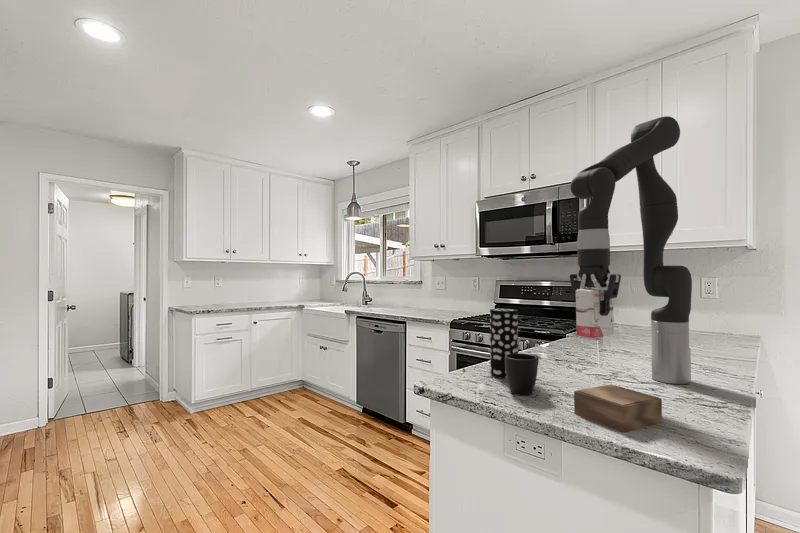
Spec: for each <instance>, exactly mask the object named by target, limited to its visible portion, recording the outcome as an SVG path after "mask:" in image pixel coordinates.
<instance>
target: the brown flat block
mask: <svg viewBox="0 0 800 533" xmlns="http://www.w3.org/2000/svg"><path fill="white" fill-rule="evenodd" d="M573 395H574V396H573V400H574V401H573V402H574V409H573V410H574V413H573V414H575V415H578V416H580V417H583V418H585V419H588V420H590V421H593V422H596V423H598V424H601V425H604V426H606V427H609V428H612V429H614V430H616V431H620V432H622V433H625V432H630V431H634V430H637V429H641V428H645V427H646V428H647V427H651V426H653V425H659V424H662V423H663V406H662V405H663V404H662V402H663V401H662V400H663V399H662V398H661V397H658V396H655V395H651V394H647V393H644V392H641V391H637V390H633V389H629V388H625V387H622V386H618V385H614V384H612V383H611V384H606V385H605V384H604V385H600V386H595V387H589V388H583V389H577V390H574V391H573Z"/></svg>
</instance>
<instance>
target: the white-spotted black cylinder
mask: <svg viewBox="0 0 800 533" xmlns="http://www.w3.org/2000/svg"><path fill="white" fill-rule="evenodd" d="M489 333H490V334H489V342H490V343H489V348H490V350H489V355H490V359H489V360H490V362H489V364H490V367H489V368H490V376H492V377H493V378H498V379H506V380H507V377H506V371H505V355H508V354H519V310H518V309H515V308H491V309H489Z"/></svg>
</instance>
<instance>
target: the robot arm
mask: <svg viewBox="0 0 800 533" xmlns="http://www.w3.org/2000/svg"><path fill="white" fill-rule="evenodd" d="M680 136H681V128H680V125H679V122H678V121H677V120H676V119H675V118H674V117H673V116H668V115H667V116H661V117H657V118H653V119H651V120H648V121H644V122H643V123H639V124H637V125H635V126H634V127H633V128H632V130H631V134H630V143H628V144H626V145H624V146H621V147H619V148H617V149H615V150H614V151H612V152H611V153H609V154H608V155H607V156H605V157H604V158H602V159H601V160H600V161H599V162H597V163H594V164H593V165H590V166H588V167H586V168H585V169H584V168H583V169H582V170H581V171H579V172H577V173H576V174H575V175H574V176H573V178H572V180H571V182H570V192H571V194H572V195H573V196H574V197H576V198H577V199H579V200H586V199H591V200H590V202H589V204H588V205H587V206H584V207H582V208H580V209H579V211H578V212H577V213H578V214H577V224H578V225H577V227H578V228H577V230H578V231H577V238H576V239H577V241H576V242H577V266H578V267H579V270H578V273H573V274H572V273H571V274H570V275H569V282H570V284H571V285H570V286H571V291H572V295H573V296H574V297H576V290H577V289H596V291H598V292H599V297H600V300H601V301H600V315H602V316H605V315H608V313H609V312H610V299H613V300H614V299H617V298H618V294H619V288H620V284H621V280H622V275H621V274H619V273H617V274H616V273H612V272H611V271H610V268H609V266H610V265H611V240H610V232H609V231H610V230H609V212H610V208H611V205H612V200H613V196H614V194H615V189H616V183H617V182H619V181H621V179H623V178H625V176H627V175H628V174H629V173H630V172H632V171H634V170H635V172H636V177H637V188H638V197H639V211H640V213H639V214H640V222H641V229H642V230H641V231H642V241H643V242H642V243H643V245H642V246H643V283H644V289H645V291H646V293H647V294H648V295H649V296H651V297H658V298H668V300H667V303H666V304H665V305H664V306H662V307H658V308H655V309H653V310H651V313H650V320H651V321H650V323H651V324H650V326H651V327H650V330H651V332H650V336H651V340H650V344H651V347H650V348H651V379H653V381H657V382H660V383H667V384H671V385H672V384H673V385H685V384H687V385H688V384H690V382H691V381H692V372H691V371H692V359H691V357H692V356H691V355H692V354H691V353H692V352H691V347H690V315H691V309H692V292H693V291H692V290H693V279H692V274H691V272H690V270H689V268H688V267H687V266H684V265H664V250H665V247H666V244H667V242H668V241H669V239H670V237H671V236H672V234H673V231H674V230H675V228H676V226H677V224H678V220H679V211H678V210H679V209H678V200H677V195H676V193H675V191H674V190H673V188H672V187H671V186H670V185H669V183H667V181H666V180H665V179H664V178H663V177H662V176H661V174H660V173H659V171H658V170H657V168H656V164H655V159H654V158H655V156H656V155H658V154H660V153H661V152H664V151H666V150H668V149H670V148H673V147H675V145H677V143H678V142H679V140H680ZM603 291H604V292H603Z"/></svg>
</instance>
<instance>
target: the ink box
mask: <svg viewBox="0 0 800 533" xmlns="http://www.w3.org/2000/svg"><path fill="white" fill-rule="evenodd" d="M603 292H604V291H603ZM600 301H601V300H600V297H599V292H598V291H596V289H595V288H593V289H577V290H576V296H575V314H576V315H575V319H576V325H575V326H576V336H577V337H578V336H579V337H585V338H592V339H594V338H595V339H596V338H601V337H610V336H614V334H615V333H614V332H615V326H614V323H615V320H614V298H613V299H610V312H609V313H608V315H605V316H602V315H600Z"/></svg>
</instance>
